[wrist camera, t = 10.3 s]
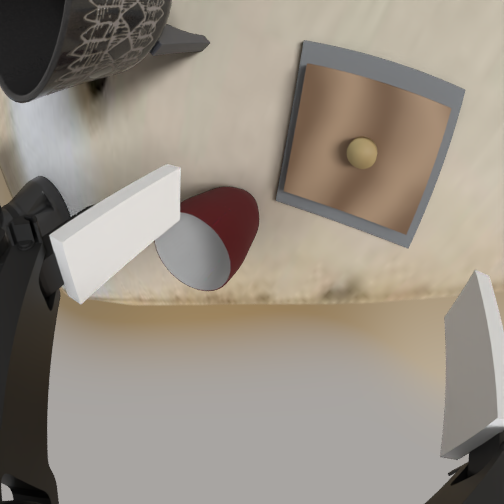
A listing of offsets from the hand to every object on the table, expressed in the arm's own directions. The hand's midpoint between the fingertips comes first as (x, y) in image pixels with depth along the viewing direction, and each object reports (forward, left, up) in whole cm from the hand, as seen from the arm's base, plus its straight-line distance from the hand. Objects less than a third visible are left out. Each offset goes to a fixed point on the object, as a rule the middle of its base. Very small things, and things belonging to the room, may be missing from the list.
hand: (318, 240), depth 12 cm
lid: (0, 0, -17) cm, 17 cm away
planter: (-21, +10, -18) cm, 29 cm away
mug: (-12, -11, -18) cm, 24 cm away
